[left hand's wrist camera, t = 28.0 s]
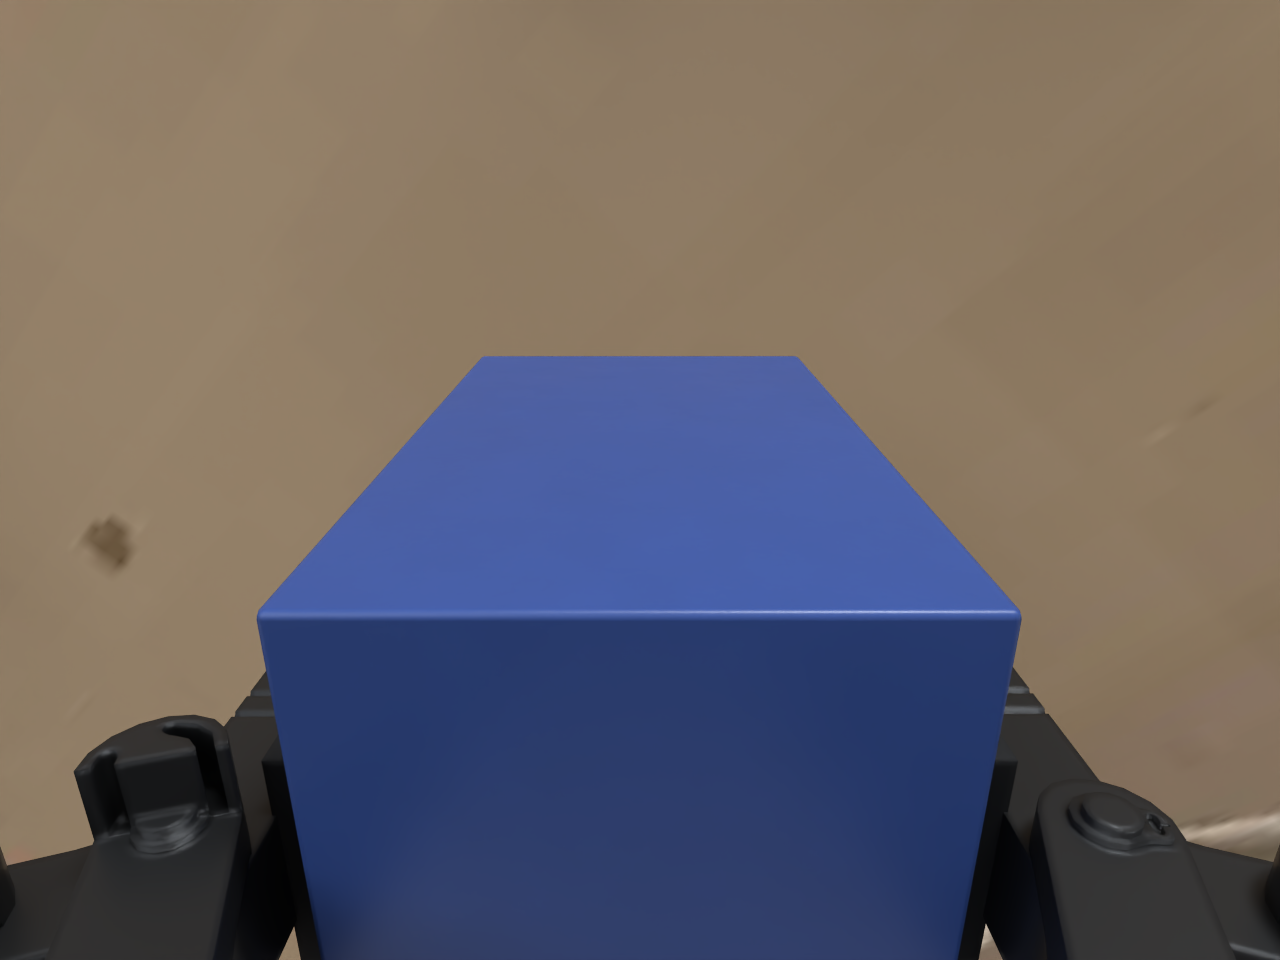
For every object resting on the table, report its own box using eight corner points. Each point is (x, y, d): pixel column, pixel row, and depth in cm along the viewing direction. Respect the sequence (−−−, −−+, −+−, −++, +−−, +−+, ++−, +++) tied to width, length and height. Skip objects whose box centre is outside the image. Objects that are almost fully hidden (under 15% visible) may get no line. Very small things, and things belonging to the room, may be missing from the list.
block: (776, 674, 17) (918, 1190, 9) (503, 674, 17) (360, 1190, 9) (798, 355, 15) (1026, 612, 6) (481, 355, 15) (251, 612, 6)
